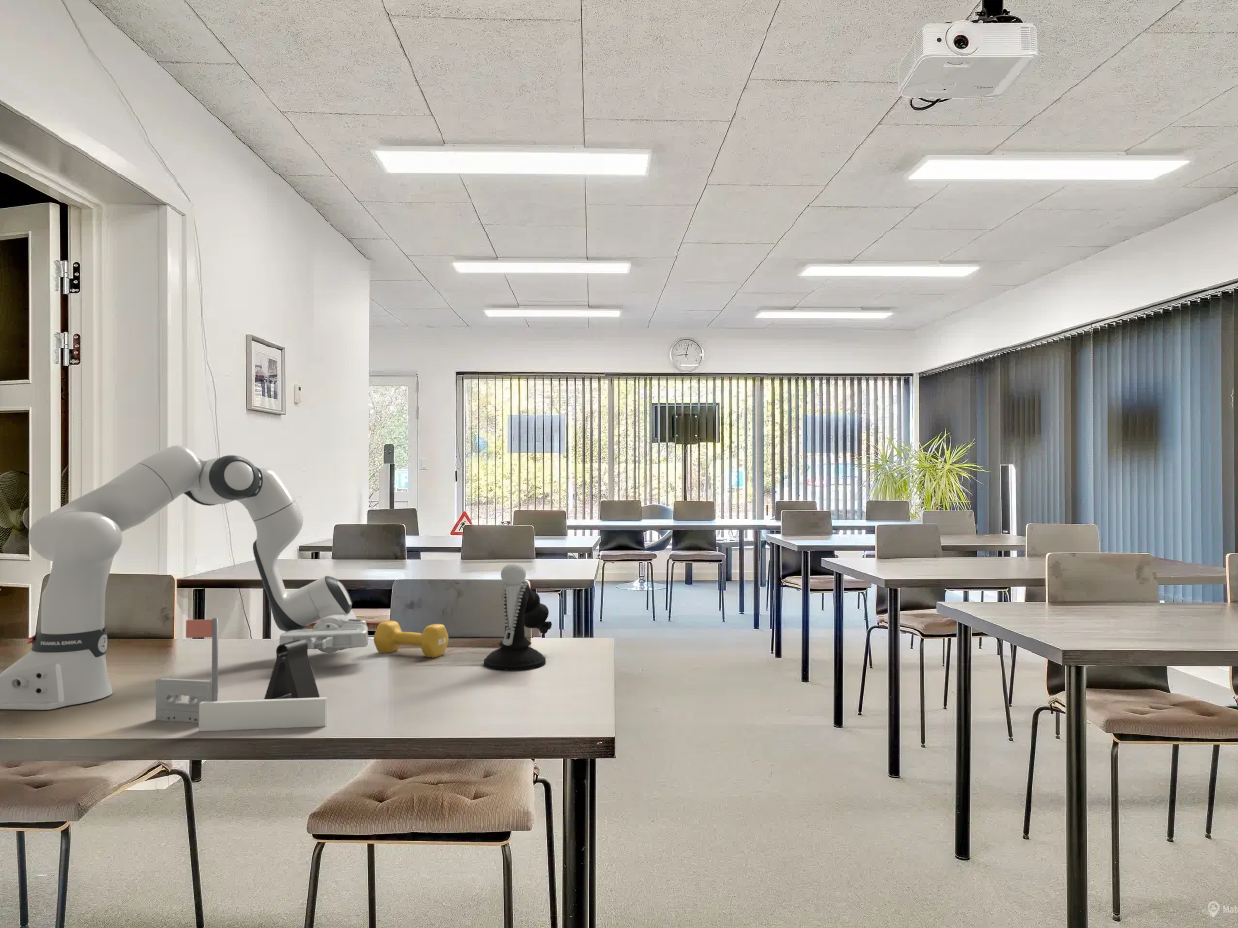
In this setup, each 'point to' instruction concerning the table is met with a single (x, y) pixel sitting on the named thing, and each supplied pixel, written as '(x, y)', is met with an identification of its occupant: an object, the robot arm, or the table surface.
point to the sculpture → (519, 623)
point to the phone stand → (292, 673)
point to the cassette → (171, 703)
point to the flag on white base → (251, 711)
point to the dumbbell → (411, 638)
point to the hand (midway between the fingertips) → (317, 645)
